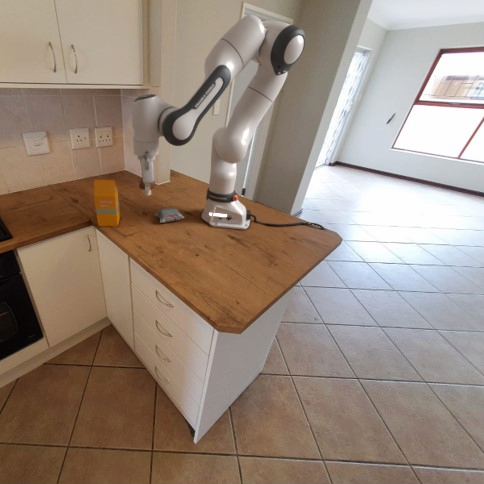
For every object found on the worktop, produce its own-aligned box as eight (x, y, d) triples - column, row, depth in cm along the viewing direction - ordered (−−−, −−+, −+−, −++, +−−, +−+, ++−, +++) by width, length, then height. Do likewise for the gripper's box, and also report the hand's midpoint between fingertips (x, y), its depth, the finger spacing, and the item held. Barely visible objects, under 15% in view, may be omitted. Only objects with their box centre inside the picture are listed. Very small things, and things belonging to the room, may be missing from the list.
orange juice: (117, 226, 111) (113, 183, 100) (97, 226, 111) (91, 182, 99) (120, 218, 117) (116, 176, 106) (101, 217, 117) (95, 176, 106)
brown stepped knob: (154, 191, 99) (154, 176, 96) (155, 197, 94) (155, 182, 91) (139, 191, 99) (138, 176, 95) (139, 197, 94) (139, 182, 90)
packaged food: (184, 222, 115) (185, 212, 112) (160, 226, 112) (160, 216, 109) (177, 214, 122) (178, 205, 119) (154, 217, 118) (154, 208, 116)
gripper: (157, 156, 79) (157, 197, 86) (153, 141, 96) (153, 177, 103) (137, 156, 78) (139, 197, 86) (136, 142, 95) (137, 177, 103)
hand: (146, 186), depth 95 cm, fingers closed on brown stepped knob, 6 cm apart
